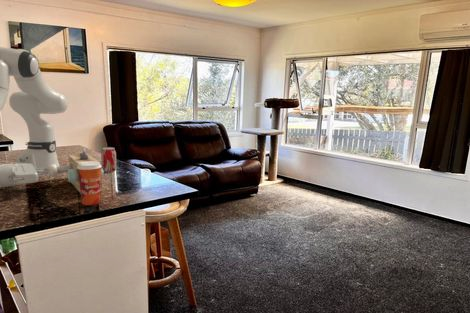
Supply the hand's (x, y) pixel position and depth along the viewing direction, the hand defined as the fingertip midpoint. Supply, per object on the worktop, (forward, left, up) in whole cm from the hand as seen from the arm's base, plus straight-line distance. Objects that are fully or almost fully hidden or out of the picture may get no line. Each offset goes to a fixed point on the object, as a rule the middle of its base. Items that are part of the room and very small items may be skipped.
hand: (48, 170), depth 137 cm
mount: (+13, +6, -7) cm, 16 cm away
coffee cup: (+29, -11, -7) cm, 32 cm away
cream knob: (+4, +5, -2) cm, 7 cm away
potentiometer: (+13, +6, +5) cm, 15 cm away
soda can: (+7, +33, -7) cm, 34 cm away
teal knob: (+18, +1, -2) cm, 18 cm away
